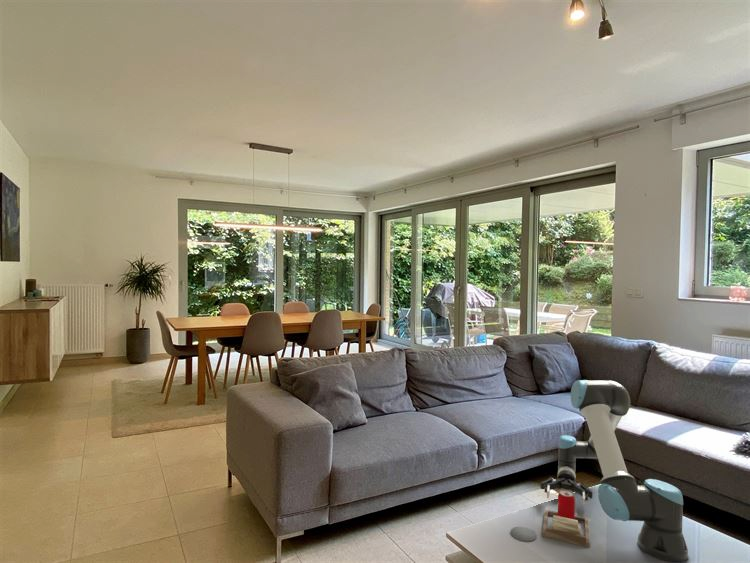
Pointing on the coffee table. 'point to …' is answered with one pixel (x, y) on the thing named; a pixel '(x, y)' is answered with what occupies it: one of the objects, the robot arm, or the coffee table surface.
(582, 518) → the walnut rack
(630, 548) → the coffee table surface
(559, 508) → the beverage can
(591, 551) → the coffee table surface
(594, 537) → the coffee table surface
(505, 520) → the coffee table surface
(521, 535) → the slate pad
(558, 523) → the plywood offcut stack
